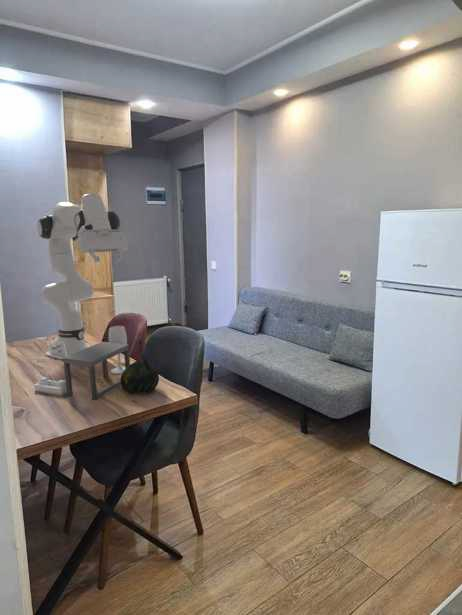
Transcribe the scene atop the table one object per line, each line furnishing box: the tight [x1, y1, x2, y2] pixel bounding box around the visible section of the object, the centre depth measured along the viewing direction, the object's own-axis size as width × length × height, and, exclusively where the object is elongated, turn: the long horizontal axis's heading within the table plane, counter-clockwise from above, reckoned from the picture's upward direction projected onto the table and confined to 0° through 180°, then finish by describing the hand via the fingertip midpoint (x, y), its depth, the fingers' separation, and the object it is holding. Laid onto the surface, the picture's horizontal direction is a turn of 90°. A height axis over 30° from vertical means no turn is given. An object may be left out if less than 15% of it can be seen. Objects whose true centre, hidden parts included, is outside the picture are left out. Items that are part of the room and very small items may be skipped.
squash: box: [120, 358, 160, 395], centre depth 171 cm, size 14×15×15 cm
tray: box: [33, 376, 67, 397], centre depth 174 cm, size 14×6×5 cm, turn 68°
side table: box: [62, 341, 131, 401], centre depth 176 cm, size 14×24×16 cm, turn 158°
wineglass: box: [108, 325, 128, 375], centre depth 194 cm, size 9×9×21 cm
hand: (108, 260), depth 169 cm, fingers open, 8 cm apart
